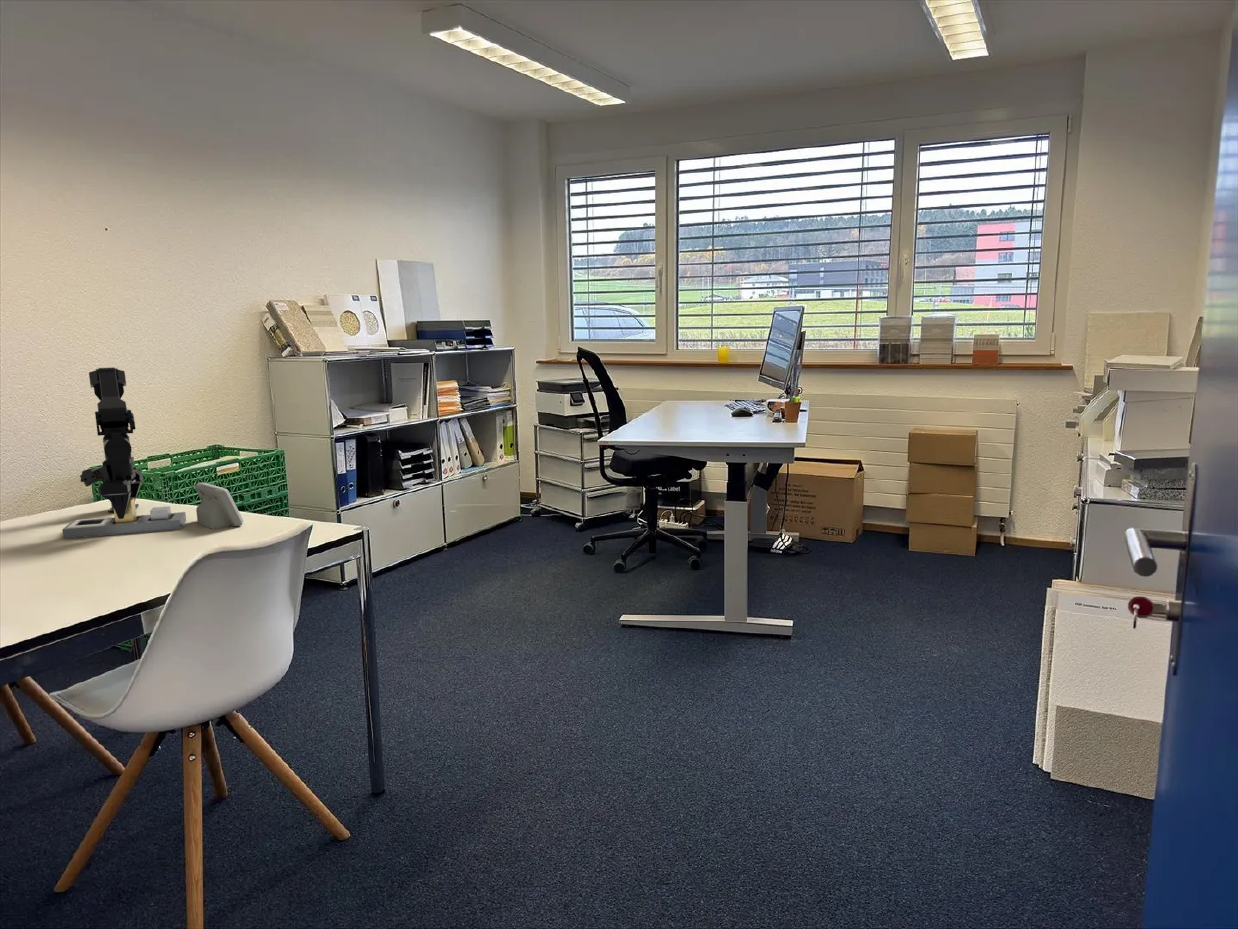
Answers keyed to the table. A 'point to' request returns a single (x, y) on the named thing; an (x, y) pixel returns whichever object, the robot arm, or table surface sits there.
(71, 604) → the table surface
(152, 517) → the steel peg
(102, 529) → the rail
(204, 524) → the digital clock
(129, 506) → the brass peg
